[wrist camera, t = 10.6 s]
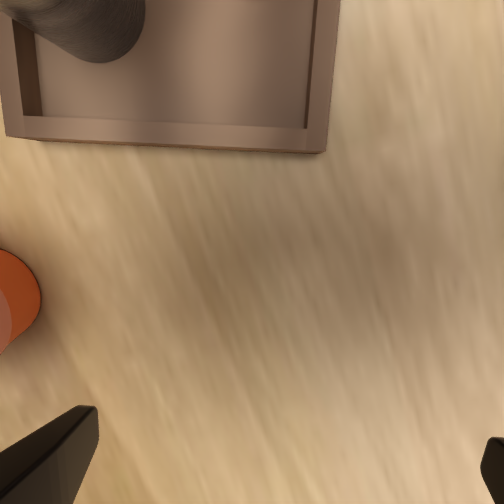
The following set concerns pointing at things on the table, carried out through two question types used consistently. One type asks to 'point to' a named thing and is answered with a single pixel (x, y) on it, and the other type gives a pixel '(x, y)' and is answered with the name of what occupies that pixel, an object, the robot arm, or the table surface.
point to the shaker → (82, 25)
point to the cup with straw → (16, 298)
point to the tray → (183, 79)
